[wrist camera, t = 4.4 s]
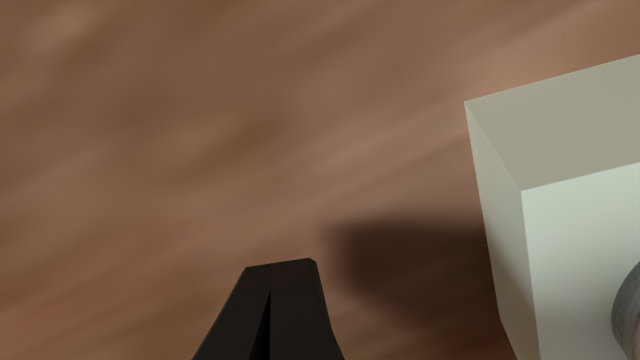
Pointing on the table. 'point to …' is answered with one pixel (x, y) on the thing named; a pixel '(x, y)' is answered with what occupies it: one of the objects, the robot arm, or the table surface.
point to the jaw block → (564, 210)
